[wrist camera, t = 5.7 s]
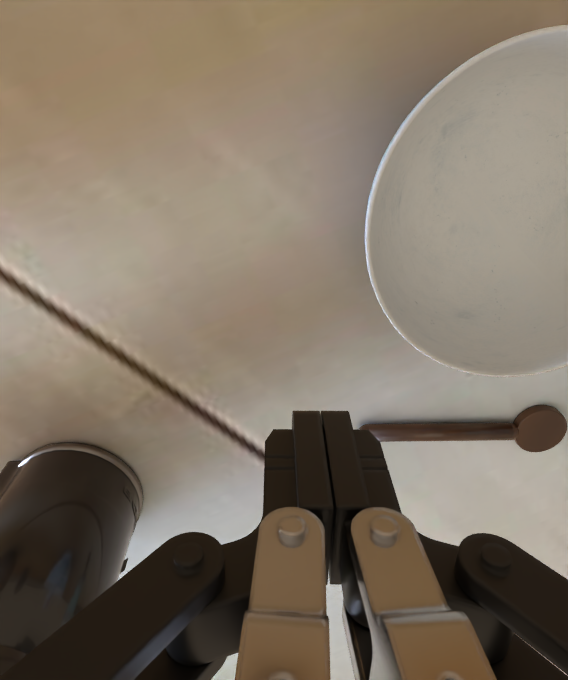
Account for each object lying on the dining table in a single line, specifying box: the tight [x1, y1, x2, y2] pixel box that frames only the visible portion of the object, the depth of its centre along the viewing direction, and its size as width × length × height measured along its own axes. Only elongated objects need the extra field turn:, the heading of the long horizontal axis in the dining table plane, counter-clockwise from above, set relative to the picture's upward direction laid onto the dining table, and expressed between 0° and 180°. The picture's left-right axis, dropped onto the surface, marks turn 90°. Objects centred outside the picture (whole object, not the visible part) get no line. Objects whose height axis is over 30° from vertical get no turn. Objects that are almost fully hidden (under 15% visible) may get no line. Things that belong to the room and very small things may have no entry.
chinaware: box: [365, 25, 568, 377], centre depth 25 cm, size 15×15×8 cm
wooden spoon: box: [360, 405, 567, 452], centre depth 35 cm, size 15×4×1 cm, turn 90°
